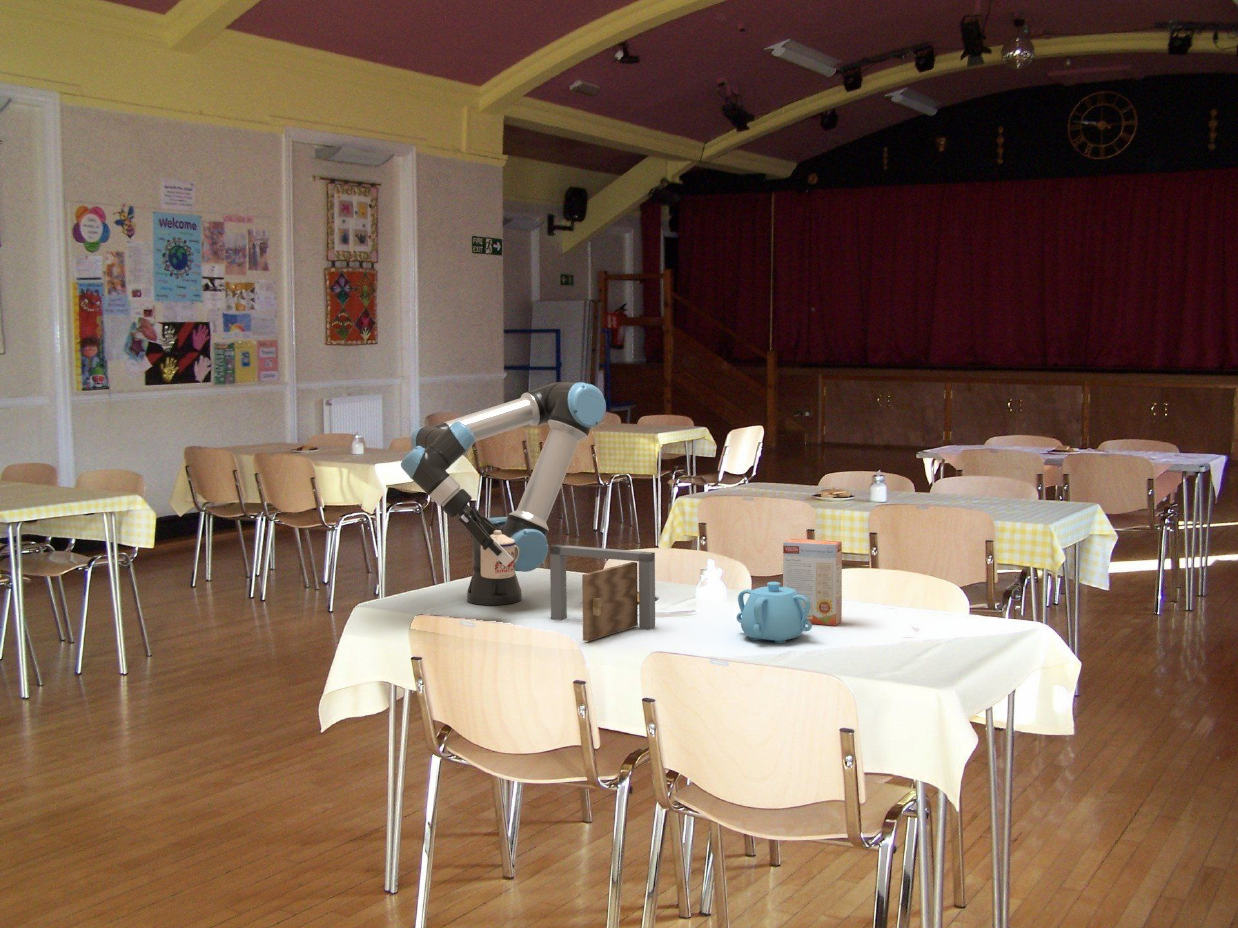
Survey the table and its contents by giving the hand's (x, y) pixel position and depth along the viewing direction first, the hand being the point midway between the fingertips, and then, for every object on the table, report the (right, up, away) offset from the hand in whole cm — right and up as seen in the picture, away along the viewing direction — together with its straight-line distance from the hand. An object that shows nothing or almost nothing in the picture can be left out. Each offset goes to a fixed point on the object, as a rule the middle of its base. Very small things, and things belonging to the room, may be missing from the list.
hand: (512, 559), depth 327 cm
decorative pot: (+65, -18, -17) cm, 69 cm away
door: (+26, -17, -14) cm, 34 cm away
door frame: (+23, -16, 0) cm, 28 cm away
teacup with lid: (-3, -4, +1) cm, 5 cm away
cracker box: (+76, -16, -1) cm, 78 cm away
